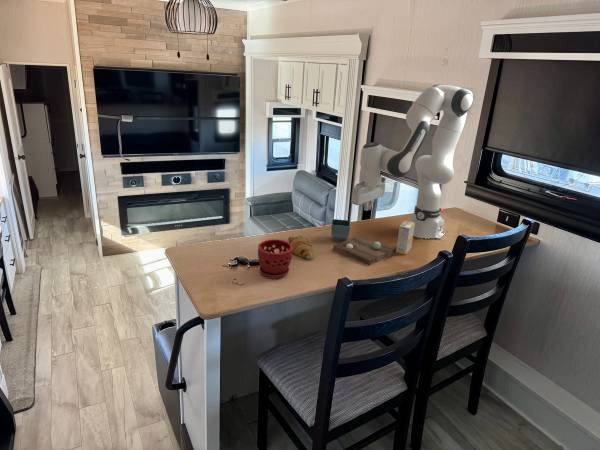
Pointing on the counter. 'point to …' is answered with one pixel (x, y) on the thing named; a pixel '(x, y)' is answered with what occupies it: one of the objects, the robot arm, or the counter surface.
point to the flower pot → (340, 230)
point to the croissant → (301, 247)
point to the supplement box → (405, 237)
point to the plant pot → (274, 258)
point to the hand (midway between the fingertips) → (367, 209)
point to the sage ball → (377, 245)
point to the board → (363, 250)
